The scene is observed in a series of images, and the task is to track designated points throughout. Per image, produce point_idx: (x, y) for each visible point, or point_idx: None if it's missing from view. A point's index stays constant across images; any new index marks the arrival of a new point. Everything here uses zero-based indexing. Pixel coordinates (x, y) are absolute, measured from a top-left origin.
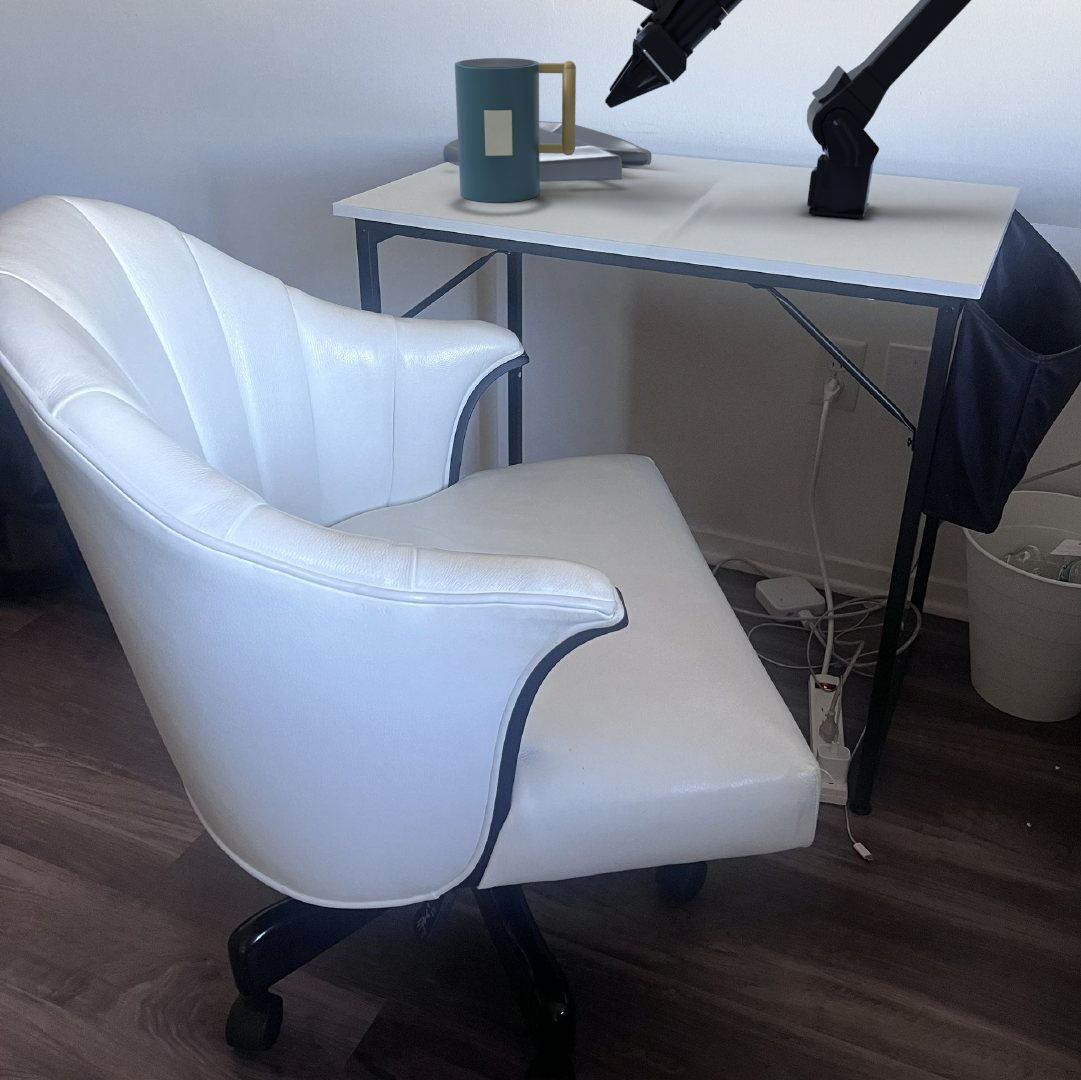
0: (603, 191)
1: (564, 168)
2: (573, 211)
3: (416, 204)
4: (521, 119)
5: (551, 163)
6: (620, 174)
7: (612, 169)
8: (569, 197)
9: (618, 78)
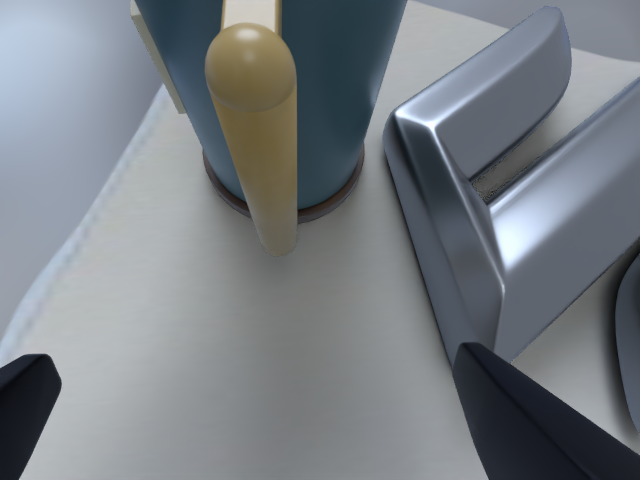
0: (421, 336)
1: (426, 239)
2: (237, 289)
3: None
4: (172, 67)
5: (422, 207)
6: None
7: None
8: (355, 269)
9: (503, 401)
